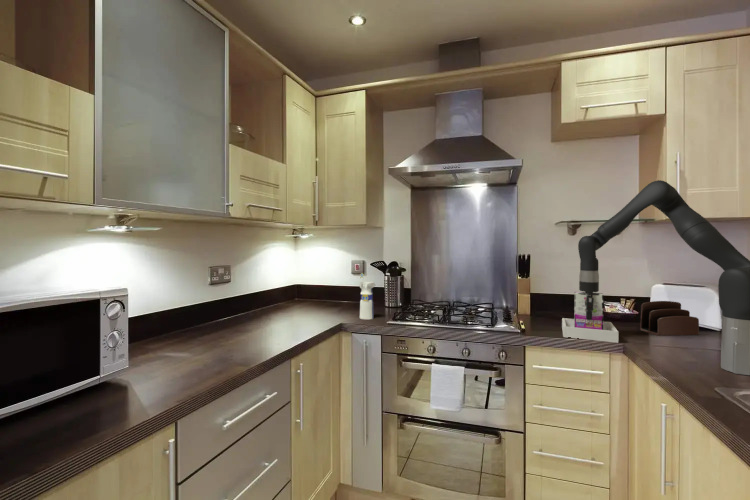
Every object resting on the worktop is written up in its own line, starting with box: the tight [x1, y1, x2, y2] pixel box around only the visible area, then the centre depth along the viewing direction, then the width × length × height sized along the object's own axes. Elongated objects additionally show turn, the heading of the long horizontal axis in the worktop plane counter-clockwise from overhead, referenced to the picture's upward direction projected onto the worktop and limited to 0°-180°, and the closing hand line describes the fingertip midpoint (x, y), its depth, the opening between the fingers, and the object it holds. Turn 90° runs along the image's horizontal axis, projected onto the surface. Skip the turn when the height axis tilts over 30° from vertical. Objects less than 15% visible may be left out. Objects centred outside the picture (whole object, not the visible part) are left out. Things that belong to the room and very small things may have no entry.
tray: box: [561, 317, 619, 344], centre depth 161 cm, size 20×20×4 cm
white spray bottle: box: [359, 272, 376, 320], centre depth 194 cm, size 8×9×25 cm
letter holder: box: [639, 300, 700, 337], centre depth 165 cm, size 10×20×14 cm, turn 95°
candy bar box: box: [573, 291, 604, 330], centre depth 161 cm, size 11×5×16 cm, turn 62°
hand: (588, 318), depth 161 cm, fingers closed on candy bar box, 5 cm apart
